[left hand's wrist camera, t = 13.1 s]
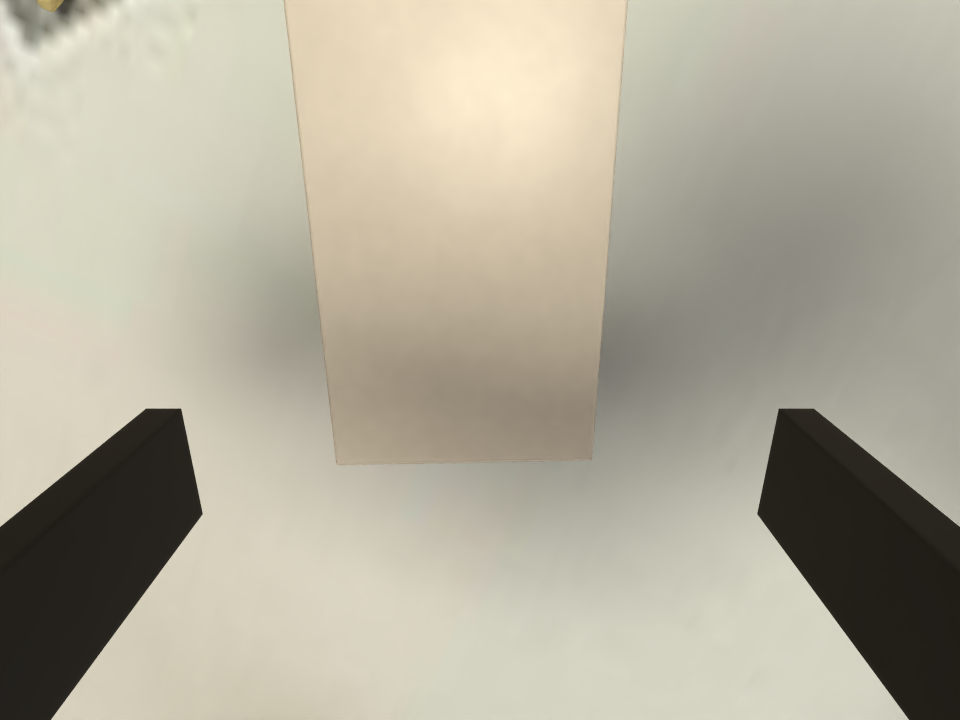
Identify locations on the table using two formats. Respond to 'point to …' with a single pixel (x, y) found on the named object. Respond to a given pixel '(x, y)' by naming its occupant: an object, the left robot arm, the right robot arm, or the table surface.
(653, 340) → the table surface
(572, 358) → the thick board
